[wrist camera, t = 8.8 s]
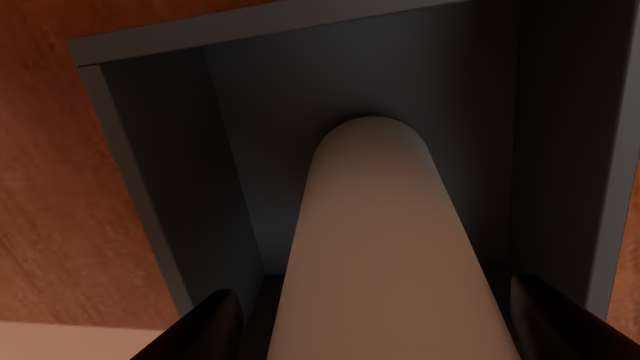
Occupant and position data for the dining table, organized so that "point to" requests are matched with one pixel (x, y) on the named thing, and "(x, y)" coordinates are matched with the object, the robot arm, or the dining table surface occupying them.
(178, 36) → the waste bin
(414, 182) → the beverage can
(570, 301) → the robot arm
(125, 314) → the dining table surface
